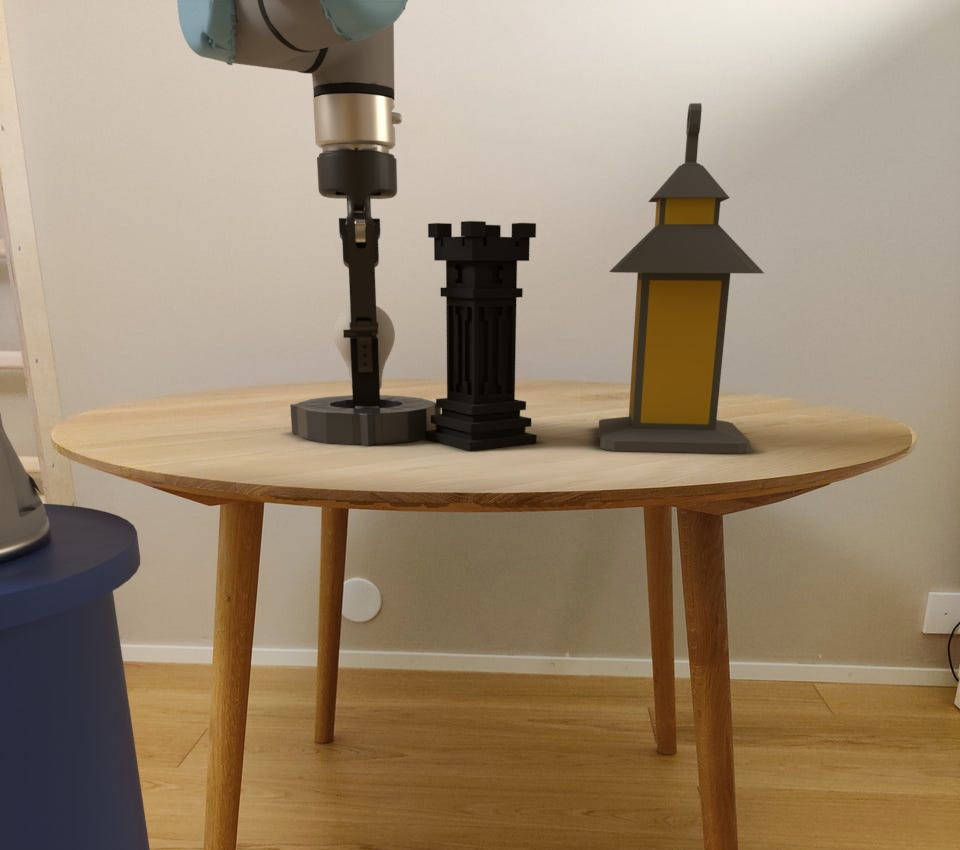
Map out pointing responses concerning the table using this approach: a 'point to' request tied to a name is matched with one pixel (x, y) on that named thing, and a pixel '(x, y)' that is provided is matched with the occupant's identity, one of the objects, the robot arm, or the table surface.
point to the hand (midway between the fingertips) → (366, 400)
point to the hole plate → (363, 420)
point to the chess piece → (481, 335)
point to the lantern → (680, 318)
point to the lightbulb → (384, 337)
